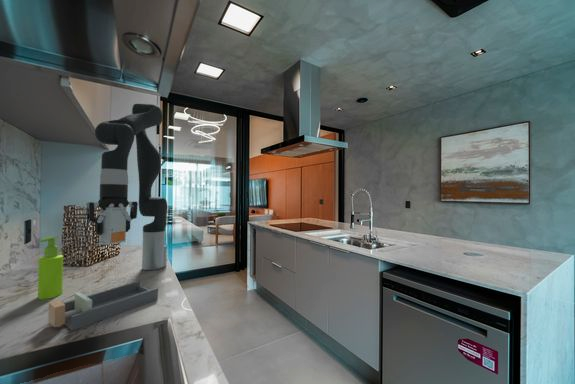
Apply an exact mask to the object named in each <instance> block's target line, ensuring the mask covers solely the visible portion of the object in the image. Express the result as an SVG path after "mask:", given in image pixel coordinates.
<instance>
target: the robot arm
mask: <svg viewBox="0 0 575 384" xmlns="http://www.w3.org/2000/svg"><path fill="white" fill-rule="evenodd" d="M162 122H163V110H162V109H161V107H160V106H159V105H157V104H154V103H153V104H152V103H134V104H133V105H132V110H131V114H128V115H125V116H123V117H121V118H119V119H113V120H107V121H102V122H100V123H99V124H97V125H96V127H95V130H94V135H95V138H96V139H97V141H99V142H100V143H101V144H104V145H109V146H110V145H112V146H116V147H115V148H114V149H112V150H107V151H104V152H103V153H102V154H101V165H100V167H101V168H100V174H99V175H100V176H99V200H98V201H96V202H95V201H93V202H91V201H88V202H86V220H87V221H88V222H93V223H94V233H95V234H96V235H97V236H99V235H102V223H101V222H102V220H103V219H104V218H105V217H106V216H107V208H112V207H120V209H121V211H122V212H123V214H124V216H125V218H126V233H129V231H130V230H131V221H132V220H134V219H137V217H138V210H139V213H140V215H141V216H143V217H153V221H151V222H150V223H147V224H144V225H143V226H142V254H141V255H142V256H141V258H142V260H141V269H142V270H144V271H154V270H155V271H156V270H160V269H163V268H164V267H166V266H167V258H168V257H167V252H168V251H167V250H168V247H167V245H166V226H167V216H168V201H167V199H166V197H162V196H161V197H159V196H157V197H156V196H152V187H153V184H154V183H155V180H157V178H158V176H159V174H160V172H161V168H162V166H161V165H162V164H161V155H160V151H158V149H157V147H155V145H154V144H153V143H152V141H151V140H150V138H149V136H148V134H147V131H146V130H147V129H150V128H151V127H155V126H160V125H161V124H162ZM134 141H135V143H136V161H137V172H138V201H135V200H134V201H129V200H128V197H129V196H128V195H129V191H128V189H129V175H128V161H129V156H130V153H131V149H132V148H133V147H132V146H133V143H134ZM97 207H99V209H100V208H102V209H103V210H104V212H103V213H100V211H99V212H98V213H97V216H95V210H96V209H97ZM106 207H107V208H106ZM124 207H125V208H126V207H129V208H130V210H129V213H128V210H127V209H125V208H124Z"/></svg>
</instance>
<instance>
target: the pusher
mask: <svg viewBox="0 0 575 384" xmlns="http://www.w3.org/2000/svg"><path fill="white" fill-rule="evenodd" d="M86 296H87V295H85V294H83V293H81V292H80V291H77V292H75V293H74V299H75V302H74V310H72V311H68V312H65V304H64V302H63V301H61V300H59V299H57V300H54V301H51V302H50V301H49V302H48V313H47V315H48V317H47V318H48V319H47V320H48V321H47V322H48V323H49V324H50V325H52V327H54V328H56V327H60V326H62V325H65V318H67V317H70V316H73V315H76V314H79V313H82V312H85V311H88V310H91V309H92V300H91V299H90V298H88V297H86Z"/></svg>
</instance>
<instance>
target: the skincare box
mask: <svg viewBox="0 0 575 384" xmlns="http://www.w3.org/2000/svg"><path fill="white" fill-rule="evenodd" d="M127 207H128V206H127ZM127 207H126V208H125V207H124V208H125V209H126V210H127ZM106 208H107V207H106ZM99 209H100V211H99V212H100V213H103V212H104V210H103V209H102V208H100V207H99ZM101 223H102V235H98V236H99V239H98V240H99V242H98V244H99V245H103V246H104V245H106V246H107V245H108V246H110V245H113V244H120V243H125V242H126V233H127V232H126V218H125V216H124V214H123V212H122V211H121V209H120V207H112V208H107V216H106V217H105V218H104V219H103V220H102V222H101Z"/></svg>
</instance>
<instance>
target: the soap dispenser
mask: <svg viewBox="0 0 575 384" xmlns="http://www.w3.org/2000/svg"><path fill="white" fill-rule="evenodd" d="M58 238H59V237H58V236H46V237H43V238H41V239H39V240H38V241H39V242H41V243H42V242H47V245H46V246H45V247H44V249H43V251H44V252H43V254H44V256H41V257H39V258H38V278H37V279H38V282H37V299H38V300H48V299H52V298H56V297H59V296H61V295H62V294H63V285H64V284H63V283H64V279H63V278H64V277H63V276H64V255H63V254H59V245H56V239H58Z"/></svg>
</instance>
